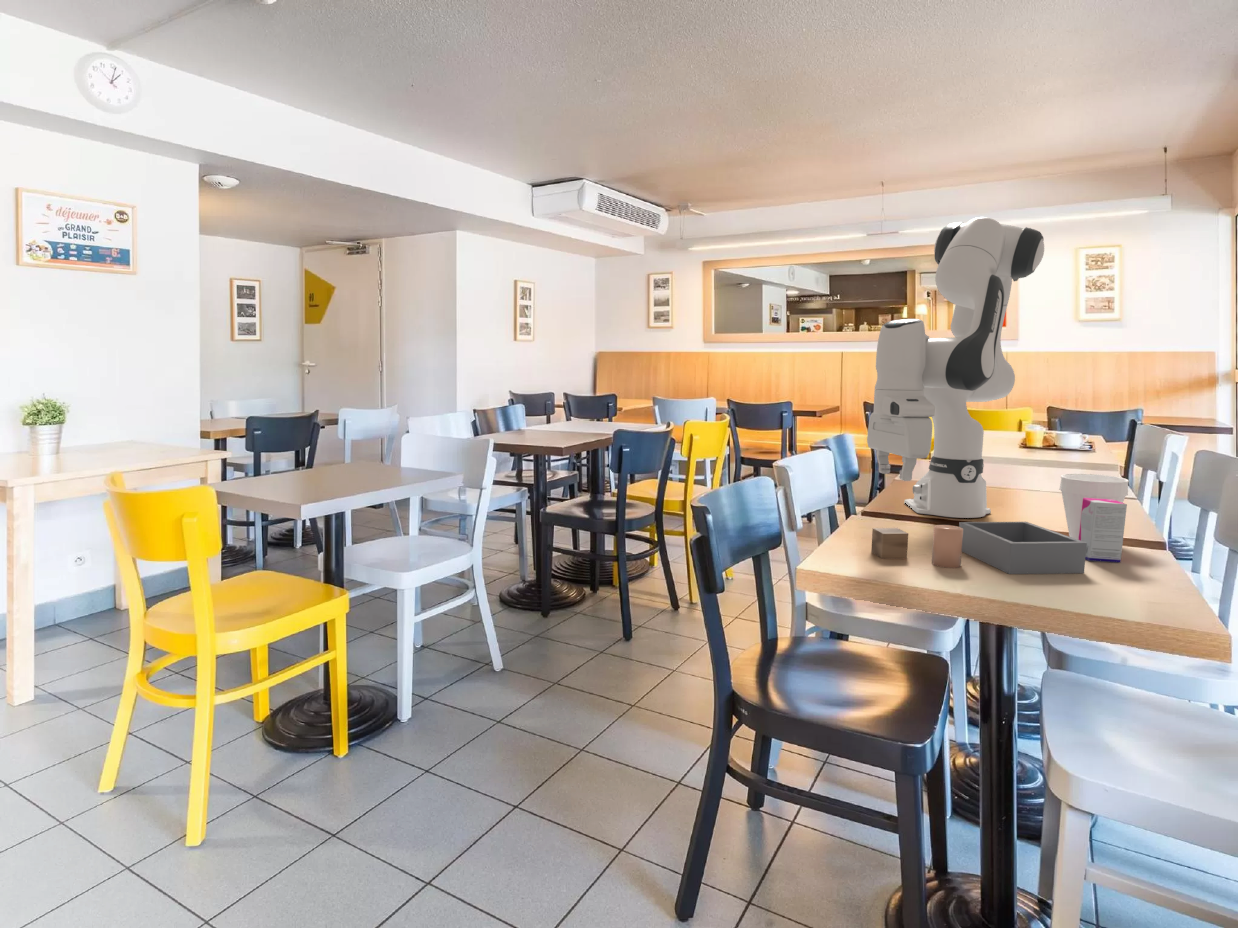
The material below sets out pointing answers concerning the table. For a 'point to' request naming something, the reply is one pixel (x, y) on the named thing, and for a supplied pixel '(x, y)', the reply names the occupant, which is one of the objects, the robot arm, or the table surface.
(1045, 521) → the table surface
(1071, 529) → the cup
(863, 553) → the table surface
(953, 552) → the cylinder
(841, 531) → the table surface
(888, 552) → the block
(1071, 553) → the tote
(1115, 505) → the supplement box
